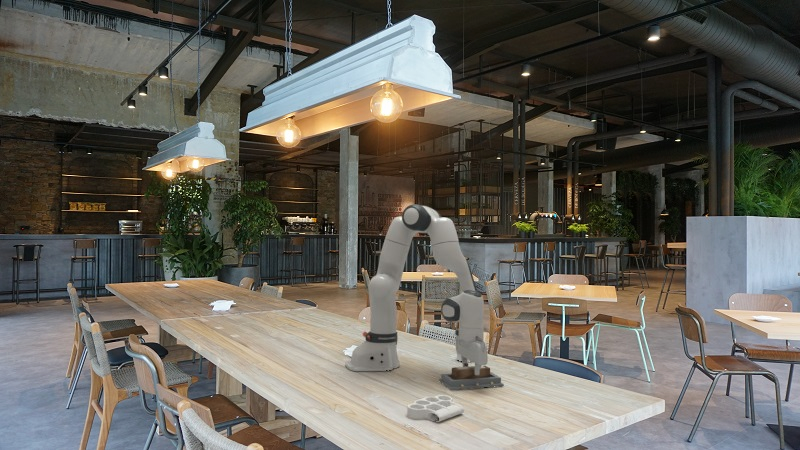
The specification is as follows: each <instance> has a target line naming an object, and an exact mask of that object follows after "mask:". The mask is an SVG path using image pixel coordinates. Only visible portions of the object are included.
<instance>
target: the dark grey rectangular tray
mask: <svg viewBox="0 0 800 450" xmlns="http://www.w3.org/2000/svg"><path fill="white" fill-rule="evenodd" d="M451 375H452V373H442V374H440V376H441V378H438V382H439V381H440V382H441V383H440V382H439V383H440V384H442V383H443V384H444V385H445V386H444V385H443V384H442V385H443V386H444V387H446V386H447V387H448V388H450V389H451V390H456V391H460V390H459V389H469V390H472V389H471V388H482V389H485V388H484V387H494V386H504V387H505V384H504V382H502V378H501V376H498V375H496V374H495V373H493V372H491V371H490V377H487V378H473V379H459V380H453V379H452V378H451ZM447 387H446V388H447ZM448 388H447V389H448ZM494 388H495V387H494ZM450 389H449V390H450ZM451 390H450V391H451Z"/></svg>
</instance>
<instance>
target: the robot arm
mask: <svg viewBox="0 0 800 450" xmlns="http://www.w3.org/2000/svg"><path fill="white" fill-rule="evenodd" d="M388 227H389V228H388V229H387V232H386V235H385V238H384V242H383V244H382V248H381V252H380V254H379V260H378V267H377V271H376V274H375V275H374V276H372V278H370V281H369V283H368V287H367V288H368V289H367V290H368V297H369V300H368V301H369V308H370V327H369V328H370V331H368V332H366V331H363V332H362V336H363V337H364V339H365V341H363V342H362V343H361V344H359V345H358V346H357V347H356V348H354V349H353V351H352V354H351V359H350V360H348V361H346V362H345V367H346V368H347V369H348V370H350V371H352V372H390V371H389V370H391V371H392V370H394V369H397V368H398V367H400V362H399V358H398V356H399V355H398V348H397V346H398V339H399V337H398V331H397V322H398V321H397V317H398V315H397V314H398V312H397V306H396V305H397V304H396V294H397V293H398V291H399V289H400V286H401V282H402V278H403V273H404V268H405V263H406V261H407V258H408V254H409V251H410V247H411V244H412V240H413V238H414V236H415V235H416V234H419V235H424V234H425V235H428V236H429V239H430V245H431V252H432V255H433V258H434V262H436V263H437V264H438V265H439V266H441V267H442V268H445V269H447V270H449V271H450V272H453V273H454V274H455V275H456V277H457V279H458V282H459V286H460V289H461V293H459V294H458V295H455V296H452V297H448V298H445V299H444V300H443V301H442V303H441V305H440V306H441V308H440V312H441V315H442V318H443V319H444V321H446V322H448V323H459V328H457V329H455V330H454V335H455V351H456V354H457V353H458V354H459V355H461V359H462V362H461V363H462V367H469V362H467V359H468V360H470V361H472V363H474V366H475V369H474V370H473V371H474V372H473V373H474V374H475V375H479V374H480V369H481V366H487V364H488V361H489V360H488V359H489V357H488V356H489V355H488V347H487V344H486V343H485V341H484V337H485V336H484V334H485V333H484V330H485V329H484V327H485V326H484V321H483V320H484V317H485V301H484V296H483V295H482V293H480V292H479V291H478V289H477V287H476V286H477V285H476V283H475V279H474V277H473V272H472V269H471V267H470V266H471V265H470V263H469V261H468V259H467V258H465V256H464V253H463V252H462V250H461V246H460V243H459V241H460V240H459V236H458V233H457V230H456V226H455V224H454V221H453V220H452V219H451V218H449V217H443V216H442V215H441V214H440V213H439V212H438V211H437V210H436V209H433V208H432V207H429V206H427V205H421V204H415V203H413V204H410V205H407V206H406V207H405V208H404V209H403V211H402V214H401V215H400V216H396V217H395V218H393V220H392V221H391V223H390V225H389V226H388ZM393 368H394V369H393ZM386 370H388V371H386Z"/></svg>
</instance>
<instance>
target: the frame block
mask: <svg viewBox="0 0 800 450" xmlns="http://www.w3.org/2000/svg"><path fill="white" fill-rule="evenodd" d="M474 369H475V365H473V366H470V365H469V366H468V367H463V366H459V367H451V374H452V375H451V378H452V379H453V380H459V379H473V378H487V377H490V372H491V367H488V366H487V365H482V366H481V369H480V374H479V375H475V374H474V373H473V372H474V371H473V370H474Z"/></svg>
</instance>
